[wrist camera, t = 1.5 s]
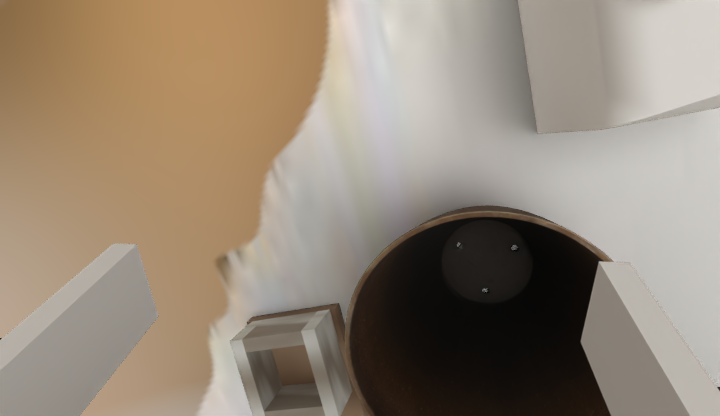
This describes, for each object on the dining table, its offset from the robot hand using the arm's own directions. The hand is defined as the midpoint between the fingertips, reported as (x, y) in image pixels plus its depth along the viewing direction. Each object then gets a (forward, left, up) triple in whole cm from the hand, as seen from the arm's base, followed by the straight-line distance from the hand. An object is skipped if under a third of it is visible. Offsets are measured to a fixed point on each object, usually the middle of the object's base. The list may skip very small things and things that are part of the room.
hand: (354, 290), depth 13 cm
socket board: (-17, +16, -26) cm, 34 cm away
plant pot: (-8, -2, -26) cm, 27 cm away
